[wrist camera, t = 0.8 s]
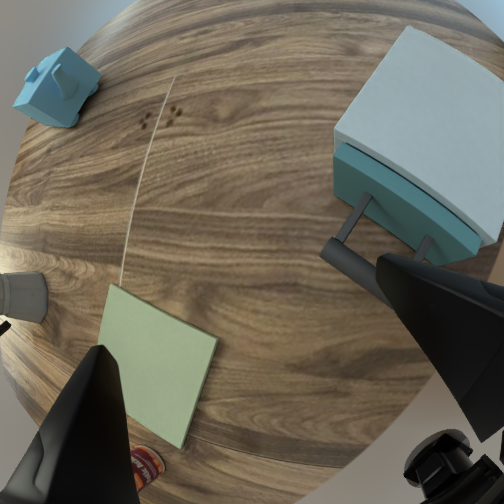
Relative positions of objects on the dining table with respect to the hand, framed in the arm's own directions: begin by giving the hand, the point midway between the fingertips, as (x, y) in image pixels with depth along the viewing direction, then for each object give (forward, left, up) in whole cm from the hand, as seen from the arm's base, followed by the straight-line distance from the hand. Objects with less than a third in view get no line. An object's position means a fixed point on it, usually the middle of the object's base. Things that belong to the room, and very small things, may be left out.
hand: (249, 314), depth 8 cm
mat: (+8, +16, -15) cm, 23 cm away
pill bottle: (+1, +27, -15) cm, 31 cm away
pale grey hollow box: (-3, -17, -15) cm, 23 cm away
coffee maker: (+30, +26, -15) cm, 43 cm away
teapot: (+50, -4, -15) cm, 53 cm away
